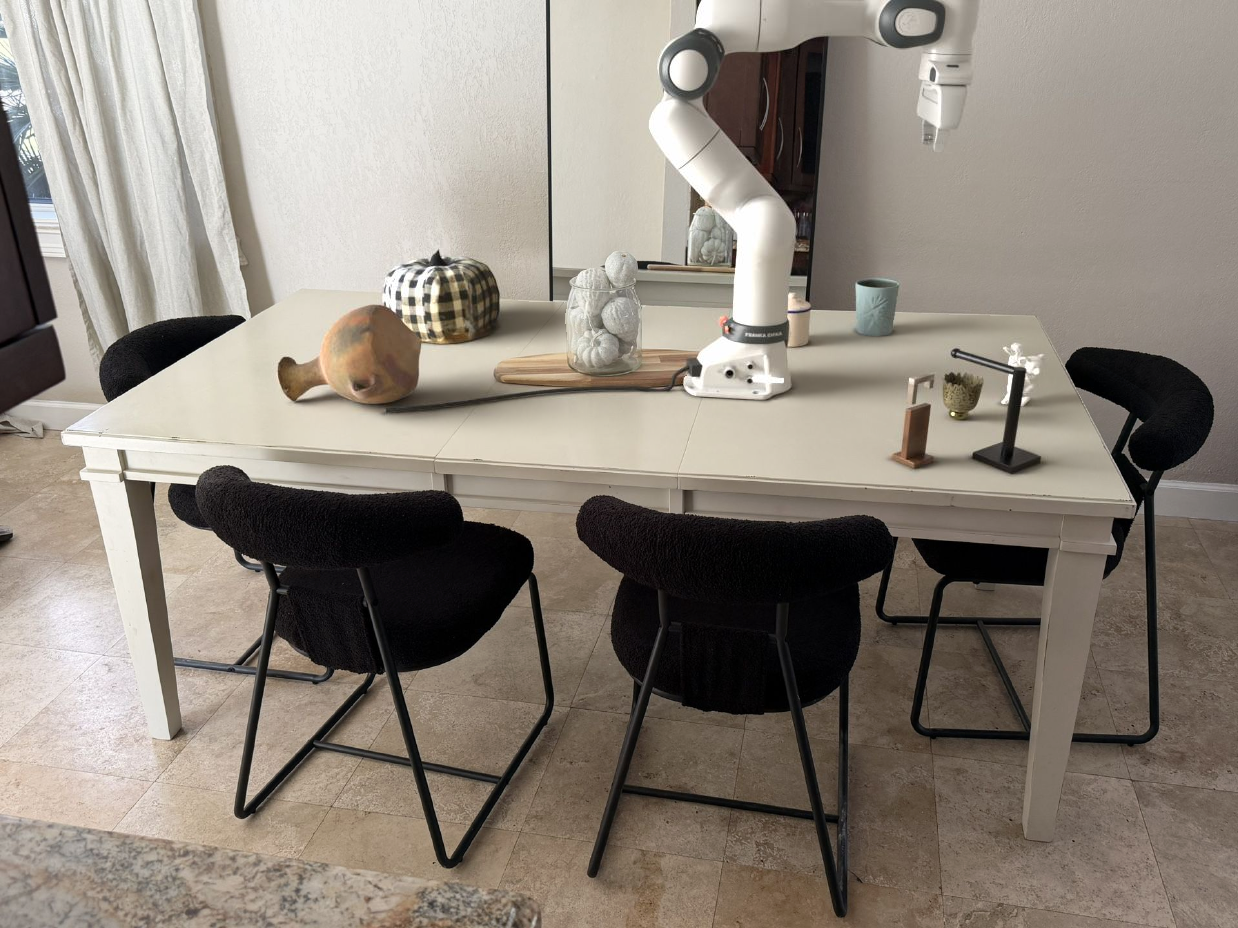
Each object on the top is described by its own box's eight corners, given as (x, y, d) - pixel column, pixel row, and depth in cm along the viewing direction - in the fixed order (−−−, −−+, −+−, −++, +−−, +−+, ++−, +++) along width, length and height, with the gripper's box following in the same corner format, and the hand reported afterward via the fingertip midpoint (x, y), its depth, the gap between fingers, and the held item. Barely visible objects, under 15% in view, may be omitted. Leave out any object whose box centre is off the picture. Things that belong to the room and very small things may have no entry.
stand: (1011, 473, 170) (1026, 378, 163) (926, 440, 183) (937, 351, 177) (1040, 462, 174) (1056, 369, 167) (955, 430, 187) (967, 343, 181)
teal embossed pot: (898, 337, 242) (903, 287, 237) (856, 337, 242) (860, 288, 237) (889, 325, 251) (893, 277, 246) (848, 325, 251) (852, 277, 246)
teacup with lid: (806, 336, 243) (809, 288, 239) (811, 347, 235) (814, 298, 230) (756, 336, 244) (758, 288, 239) (759, 347, 236) (761, 298, 231)
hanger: (913, 468, 172) (923, 382, 166) (891, 459, 176) (900, 374, 170) (933, 461, 175) (944, 376, 168) (911, 452, 179) (920, 369, 172)
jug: (447, 390, 211) (318, 406, 218) (430, 296, 208) (300, 315, 215) (406, 405, 192) (267, 422, 199) (387, 302, 188) (246, 322, 195)
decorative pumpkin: (390, 315, 266) (382, 238, 258) (501, 310, 268) (496, 234, 260) (378, 348, 239) (368, 264, 231) (501, 343, 242) (496, 259, 233)
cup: (972, 427, 189) (978, 387, 186) (933, 420, 192) (937, 380, 189) (982, 414, 195) (988, 375, 191) (944, 408, 198) (948, 369, 195)
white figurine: (1000, 408, 198) (1009, 349, 193) (989, 396, 204) (998, 338, 199) (1043, 408, 198) (1053, 349, 193) (1032, 396, 204) (1041, 338, 199)
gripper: (915, 65, 195) (904, 139, 201) (939, 74, 177) (926, 156, 183) (948, 66, 195) (936, 140, 201) (975, 76, 177) (962, 157, 183)
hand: (932, 148), depth 192 cm, fingers open, 8 cm apart
